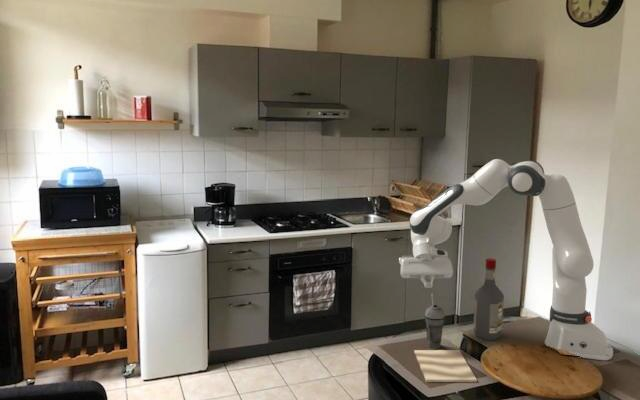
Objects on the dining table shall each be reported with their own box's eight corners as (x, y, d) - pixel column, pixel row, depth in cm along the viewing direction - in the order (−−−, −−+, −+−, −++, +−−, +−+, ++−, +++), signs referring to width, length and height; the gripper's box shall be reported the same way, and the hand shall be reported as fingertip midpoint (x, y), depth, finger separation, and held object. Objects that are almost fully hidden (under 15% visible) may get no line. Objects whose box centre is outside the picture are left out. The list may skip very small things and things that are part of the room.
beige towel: (414, 352, 196) (414, 350, 196) (459, 352, 196) (459, 349, 196) (426, 382, 174) (426, 379, 174) (476, 381, 174) (476, 379, 174)
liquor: (470, 335, 210) (474, 259, 206) (481, 328, 217) (485, 255, 212) (493, 342, 204) (497, 264, 200) (504, 334, 211) (507, 259, 206)
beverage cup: (444, 351, 197) (445, 297, 194) (423, 349, 198) (424, 296, 195) (443, 343, 204) (445, 291, 201) (423, 341, 205) (425, 290, 202)
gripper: (399, 251, 216) (402, 283, 207) (451, 251, 216) (456, 283, 207) (397, 259, 221) (400, 290, 213) (448, 259, 221) (453, 290, 213)
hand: (428, 287), depth 210 cm, fingers closed
